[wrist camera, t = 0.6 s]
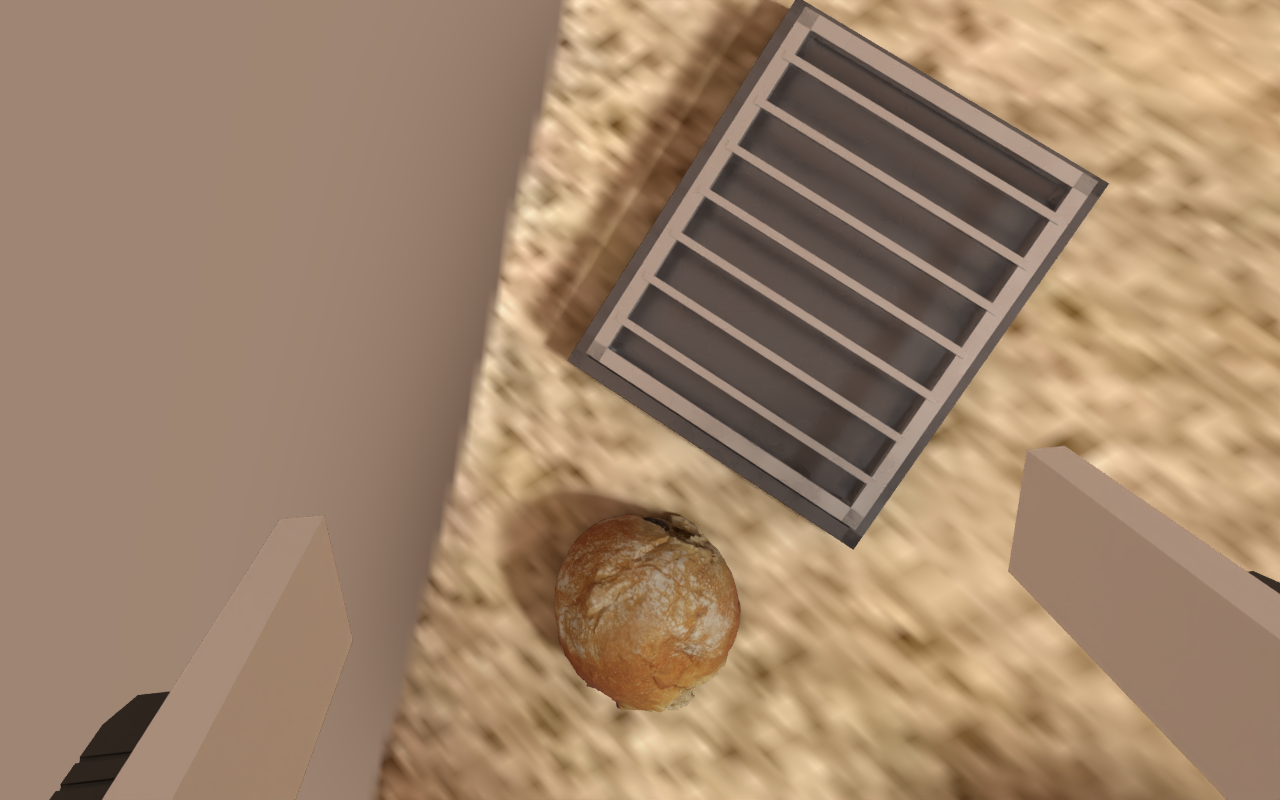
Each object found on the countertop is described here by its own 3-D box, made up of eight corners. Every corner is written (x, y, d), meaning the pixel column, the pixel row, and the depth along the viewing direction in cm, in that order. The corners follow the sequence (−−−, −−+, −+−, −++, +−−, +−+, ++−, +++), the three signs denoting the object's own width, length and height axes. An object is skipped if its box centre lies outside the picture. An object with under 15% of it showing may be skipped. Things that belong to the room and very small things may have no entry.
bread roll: (745, 543, 46) (756, 509, 39) (725, 728, 43) (733, 728, 35) (583, 520, 47) (563, 482, 40) (549, 697, 44) (520, 692, 36)
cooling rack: (1093, 191, 40) (1132, 172, 36) (848, 542, 42) (860, 560, 38) (794, 11, 41) (800, -26, 37) (573, 360, 43) (557, 360, 39)
